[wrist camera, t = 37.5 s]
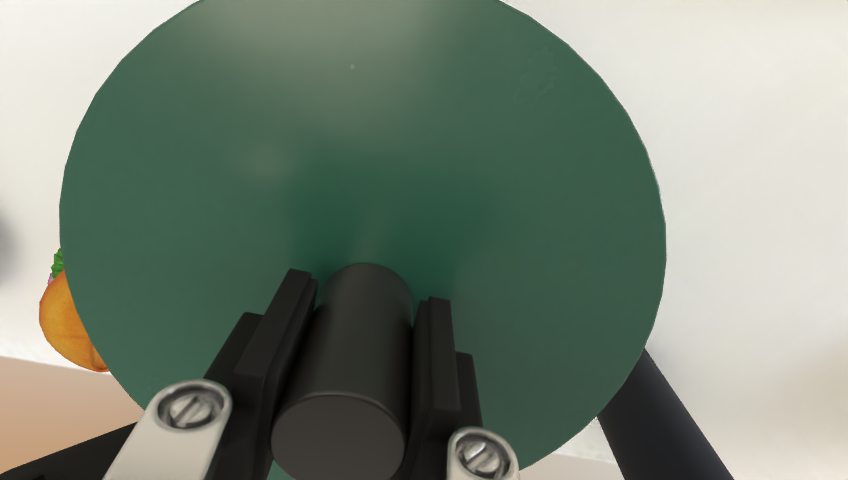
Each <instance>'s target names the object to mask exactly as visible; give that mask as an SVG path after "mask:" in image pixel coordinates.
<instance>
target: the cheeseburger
mask: <svg viewBox="0 0 848 480" xmlns="http://www.w3.org/2000/svg"><path fill="white" fill-rule="evenodd" d="M51 269H52V273H51V274H50V277H49V280H48V286H47V288H46V290H45V292H44V294H43V296H42V298H41V300H40V307H39V322H40V326H41V328H42V331H43V333H44V335H45V337H46V340H47V341H48V342H49V343H50V344H51V346H52V347H53V348H54V349H55V350H56V351H57V352H59V353H60V354H61V355H62V356H63V357H64V358H66V359H68V360H69V361H71V362H73V363H75V364H76V365H78V366H81V367H84V368H86V369H89V370H93V371H96V372H108V371H109V370H108V368H107V367H106V365H105V363H104V362H103V360H102V359H101V357H100V356H99V354H98V352H97V351H96V349H95V348H94V346H93V345H92V343H91V341H90V339H89V337H88V335H87V333H86V331H85V328H84V326H83V324H82V322H81V320H80V318H79V316H78V314H77V311H76V309H75V305H74V302H73V299H72V296H71V293H70V290H69V286H68V283H67V280H66V276H65V270H64V264H63V258H62V252H61V248H59V250H58V252H57V253H56V254H54V265H53V266H52V267H51Z"/></svg>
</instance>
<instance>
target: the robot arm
mask: <svg viewBox="0 0 848 480" xmlns="http://www.w3.org/2000/svg"><path fill="white" fill-rule="evenodd" d="M311 277H312V273H311V272H307V271H302V270H297V269H292V268H290V269H289V270H288V272H287V274H286V276H285V277H284V279H283V281H282V283H281V285H280V286H279V288H278V290H277V292H276V294H275V296H274V297H273V299H272V301H271V303H270V305H269V307H268V308H267V310H266V312H265V314H264V315H261V314H256V313H250V312H244V313H243V315H242V316H241V317H240V319H239V321H238V322H237V324H236V325H235V327H234V329H233V330H232V332H231V333H230V335H229V337H228V338H227V340H226V341H225V343H224V345H223V346H222V348H221V349H220V351H219V353H218V354H217V356H216V357H215V359H214V361H213V362H212V364H211V365H210V367H209V369H208V370H207V372H206V373H205V375H204V377H203V378H202V379H188V380H183V381H179V382H176V383H174V384H171V385H169V386H167V387H165V388H164V389H162V390H161V391H159V392H158V393H157V394H156V395H155V397H154V398H153V399H152V400H151V401H150V403H149V405H148V406H147V408H146V409H145V411H144V413H143V414H142V416H141V418H140V419H139V421H138V422H135V423H133V424H130V425H127V426H124V427H122V428H119V429H117V430H114V431H111V432H109V433H106V434H103V435H101V436H98V437H95V438H93V439H90V440H87V441H85V442H82V443H79V444H77V445H74V446H72V447H69V448H66V449H63V450H61V451H58V452H55V453H53V454H50V455H48V456H45V457H42V458H39V459H37V460H34V461H31V462H29V463H26V464H23V465H21V466H18V467H16V468H13V469H11V470H9V471H6V472H4V473H2V474H0V480H267V477H268V474H269V471H270V468H271V465H272V462H273V459H274V458H273V456H272V453H271V450H270V446H269V434H270V428H271V423H272V420H273V417H274V415H275V412H276V410H277V407H278V404H279V402H280V399H281V396H282V394H283V391H284V389H285V386H286V383H287V381H288V378H289V375H290V373H291V370H292V368H293V365H294V362H295V360H296V357H297V354H298V352H299V349H300V347H301V344H302V341H303V339H304V336H305V334H306V331H307V328H308V326H309V323H310V320H311V318H312V315H313V313H314V307H315V300H316V294H317V288H318V279H313V278H311ZM390 480H520V474H519V467H518V461H517V458H516V455H515V452H514V451H513V449H512V448H511V446H510V445H509V443H508V442H507V441H506V440H504V439H503V438H502V437H501V436H500V435H498V434H497V433H495V432H493V431H492V430H489V429H486V428H483V422H482V415H481V408H480V402H479V395H478V388H477V381H476V375H475V368H474V361H473V357H472V355H471V354H468V353H463V352H458V351H455V345H454V334H453V324H452V314H451V303H450V300H448V299H443V298H438V297H433V296H429V298H428V300H427V301H425V300H420V302H419V306H418V309H417V313H416V317H415V321H414V324H413V328H412V346H411V374H410V401H409V428H408V446H407V451H406V454H405V458H404V461H403V464H402V465H401V467H400V469H399V470H398V471H397V472H396V474H395V475H394V476H392V477H391V478H390Z"/></svg>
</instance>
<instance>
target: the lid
mask: <svg viewBox="0 0 848 480" xmlns="http://www.w3.org/2000/svg"><path fill="white" fill-rule="evenodd" d="M59 218H60V246H61V252H62V258H63V264H64V270H65V276H66V280H67V283H68V286H69V290H70V293H71V296H72V299H73V302H74V305H75V309H76V311H77V314H78V316H79V318H80V320H81V322H82V324H83V326H84V328H85V331H86V333H87V335H88V337H89V339H90V341H91V343H92V345H93V346H94V348H95V349H96V351H97V352H98V354H99V356H100V357H101V359H102V360H103V362H104V363H105V365H106V367H107V368H108V370H109V371H110V372H111V374H112V375H113V376H114V377H115V378H116V380H117V381H118V382H119V383H120V385H121V386H122V387H123V388H124V390H125V391H126V392H127V393H128V394H129V396H130V397H131V398H132V399H133V400H134V401H135V402H136V403H137V404H138V405H139V406H140V407H141V408H142V409H144V411H145V409H146V408H147V406H148V405H149V403H150V401H151V400H152V399H153V398H154V397H155V395H156V394H157V393H158V392H159V391H161V390H162V389H164V388H165V387H167V386H169V385H171V384H174V383H176V382H179V381H183V380H188V379H202V378H203V377H204V375H205V373H206V372H207V370H208V369H209V367H210V365H211V364H212V362H213V361H214V359H215V357H216V356H217V354H218V353H219V351H220V349H221V348H222V346H223V345H224V343H225V341H226V340H227V338H228V337H229V335H230V333H231V332H232V330H233V329H234V327H235V325H236V324H237V322H238V321H239V319H240V317H241V316H242V315H243V313H244V312H250V313H256V314H261V315H264V314H265V312H266V310H267V308H268V307H269V305H270V303H271V301H272V299H273V297H274V296H275V294H276V292H277V290H278V288H279V286H280V285H281V283H282V281H283V279H284V277H285V276H286V274H287V272H288V270H289V269H290V268H292V269H297V270H302V271H307V272H311V273H312V277H311V278H313V279H318V288H317V294H316V300H315V307H314V313H313V315H312V318H311V320H310V323H309V326H308V328H307V331H306V334H305V336H304V339H303V341H302V344H301V347H300V349H299V352H298V354H297V357H296V360H295V362H294V365H293V368H292V370H291V373H290V375H289V378H288V381H287V383H286V386H285V389H284V391H283V394H282V396H281V399H280V402H279V404H278V407H277V410H276V412H275V415H274V417H273V420H272V423H271V428H270V434H269V446H270V450H271V453H272V456H273V458H274V459H273V462H272V465H271V468H270V471H269V474H268V477H267V480H390V478H391V477H392V476H394V475H395V474H396V472H397V471H398V470H399V469H400V467H401V465H402V464H403V461H404V458H405V454H406V451H407V446H408V428H409V401H410V374H411V346H412V328H413V324H414V321H415V317H416V313H417V309H418V306H419V302H420V300H425V301H427V300H428V298H429V296H433V297H438V298H443V299H448V300H450V303H451V314H452V324H453V334H454V345H455V351H458V352H463V353H468V354H471V355H472V357H473V361H474V368H475V375H476V381H477V388H478V395H479V402H480V408H481V415H482V422H483V428H486V429H489V430H492V431H493V432H495V433H497V434H498V435H500V436H501V437H502V438H503V439H504V440H506V441H507V442H508V443H509V445H510V446H511V448H512V449H513V451H514V452H515V455H516V458H517V461H518V467H519V471H520V470H522V469H524V468H526V467H528V466H531V465H532V464H534V463H535V462H537V461H539V460H540V459H542V458H544V457H545V456H547V455H549V454H550V453H552V452H553V451H555V450H557V449H558V448H559V447H561V446H562V445H563V444H565V443H566V442H567V441H568V440H570V439H571V438H572V437H574V436H575V435H576V434H577V433H579V432H580V431H581V430H582V429H583V428H584V427H586V426H587V425H588V424H589V423H590V422H591V421H592V420H593V419H594V418H595V417H596V416H597V415H598V414H599V413H600V412H601V411H602V410H603V409H604V408H605V406H606V405H607V404H608V403H609V401H610V400H611V399H612V398H613V396H614V395H615V394H616V393H617V391H618V390H619V389H620V388H621V386H622V385H623V384H624V382H625V381H626V379H627V377H628V376H629V374H630V372H631V371H632V369H633V367H634V366H635V364H636V363H637V361H638V359H639V358H640V356H641V353H642V351H643V349H644V346H645V344H646V342H647V340H648V337H649V335H650V333H651V331H652V328H653V325H654V322H655V318H656V315H657V311H658V308H659V304H660V300H661V297H662V291H663V284H664V276H665V268H666V223H665V217H664V212H663V206H662V200H661V195H660V189H659V185H658V182H657V179H656V176H655V173H654V170H653V167H652V164H651V161H650V159H649V156H648V153H647V150H646V148H645V146H644V144H643V142H642V140H641V138H640V136H639V134H638V132H637V130H636V129H635V127H634V125H633V123H632V121H631V119H630V117H629V115H628V113H627V112H626V110H625V109H624V108H623V106H622V105H621V103H620V102H619V101H618V99H617V98H616V97H615V95H614V94H613V93H612V91H611V90H610V89H609V87H608V86H607V85H606V83H605V82H604V81H603V79H602V78H601V77H600V76H599V75H598V74H597V73H596V72H595V71H594V70H593V69H592V68H591V67H590V66H589V65H588V64H587V63H586V62H585V61H584V60H583V59H582V58H581V57H580V56H579V55H578V54H577V53H576V52H575V51H574V50H573V49H572V48H571V47H570V46H569V45H568V44H567V43H565V42H564V41H563V40H561V39H560V38H559V37H557V36H556V35H555V34H553V33H552V32H550V31H549V30H548V29H546V28H545V27H544V26H542V25H541V24H540V23H538V22H537V21H535V20H534V19H533V18H531V17H530V16H528V15H526V14H524V13H523V12H521V11H519V10H517V9H515V8H513V7H511V6H509V5H507V4H505V3H503V2H502V1H500V0H199V1H197V2H195V3H193V4H191V5H190V6H188V7H187V8H185V9H184V10H182V11H181V12H179V13H178V14H176V15H175V16H173V17H172V18H170V19H169V20H167V21H166V22H164V23H163V24H161V25H160V26H158V27H157V28H155V29H154V30H153V31H152V32H151V33H149V34H148V35H147V36H146V37H145V38H144V39H143V40H142V41H141V42H140V43H139V44H138V45H137V46H136V47H135V48H134V49H132V50H131V51H130V52H129V53H128V54H127V55H126V56H125V57H124V58H123V59H122V60H121V61H120V63H119V64H118V65H117V66H116V68H115V69H114V70H113V72H112V73H111V74H110V76H109V77H108V78H107V80H106V81H105V82H104V84H103V85H102V86H101V88H100V89H99V90H98V92H97V93H96V94H95V96H94V98H93V100H92V102H91V104H90V106H89V108H88V110H87V112H86V114H85V116H84V118H83V120H82V121H81V123H80V125H79V127H78V129H77V131H76V135H75V138H74V141H73V144H72V147H71V150H70V153H69V156H68V160H67V163H66V166H65V170H64V177H63V184H62V191H61V197H60V204H59Z"/></svg>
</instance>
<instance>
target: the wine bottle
mask: <svg viewBox="0 0 848 480" xmlns="http://www.w3.org/2000/svg"><path fill="white" fill-rule="evenodd" d="M597 418H598V420H599V423H600V425H601V427H602V429H603V432H604V434H605V436H606V438H607V441H608V443H609V445H610V447H611V450H612V452H613V454H614V457H615V459H616V461H617V463H618V466H619V468H620V470H621V472H622V475H623V477H624V479H625V480H734V479H733V477H732V476H731V474H730V473H729V471H728V470H727V468H726V467H725V465H724V464H723V462H722V461H721V459H720V458H719V457H718V455H717V454H716V452H715V451H714V449H713V448H712V446H711V445H710V443H709V442H708V440H707V439H706V437H705V436H704V435H703V433H702V432H701V430H700V429H699V427H698V426H697V424H696V423H695V421H694V420H693V418H692V417H691V415H690V414H689V413H688V411H687V410H686V408H685V407H684V405H683V404H682V402H681V401H680V399H679V398H678V396H677V395H676V393H675V392H674V391H673V389H672V388H671V386H670V385H669V383H668V382H667V380H666V379H665V377H664V376H663V374H662V373H661V371H660V370H659V369H658V367H657V366H656V364H655V363H654V361H653V360H652V358H651V357H650V355H649V354H648V352H647V351H646V350H645V348H644V349H643V351H642V353H641V356H640V358H639V359H638V361H637V363H636V364H635V366H634V367H633V369H632V371H631V372H630V374H629V376H628V377H627V379H626V381H625V382H624V384H623V385H622V386H621V388H620V389H619V390H618V391H617V393H616V394H615V395H614V396H613V398H612V399H611V400H610V401H609V403H608V404H607V405H606V406H605V408H604V409H603V410H602V411H601V412H600V413H599V414H598V415H597Z"/></svg>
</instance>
